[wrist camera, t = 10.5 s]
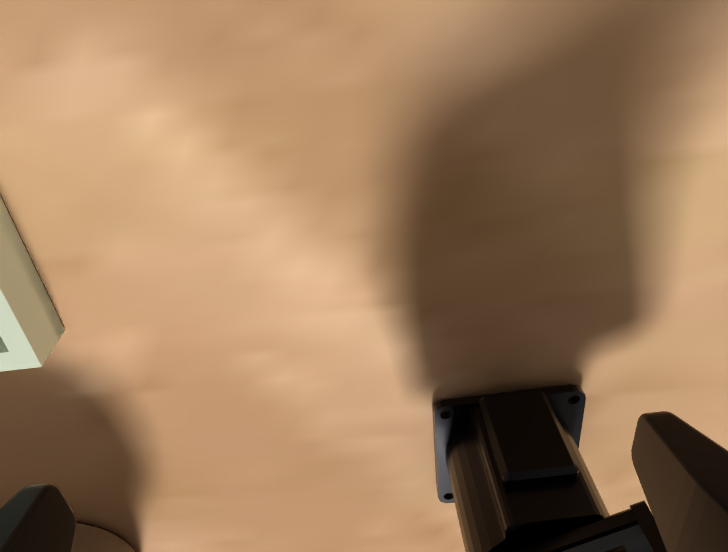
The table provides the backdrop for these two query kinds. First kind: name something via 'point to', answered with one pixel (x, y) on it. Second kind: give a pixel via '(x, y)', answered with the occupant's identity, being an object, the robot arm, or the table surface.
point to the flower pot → (97, 540)
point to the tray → (23, 305)
